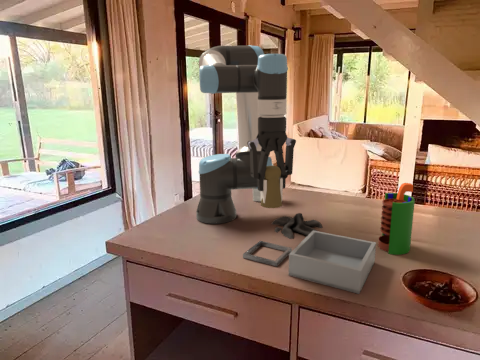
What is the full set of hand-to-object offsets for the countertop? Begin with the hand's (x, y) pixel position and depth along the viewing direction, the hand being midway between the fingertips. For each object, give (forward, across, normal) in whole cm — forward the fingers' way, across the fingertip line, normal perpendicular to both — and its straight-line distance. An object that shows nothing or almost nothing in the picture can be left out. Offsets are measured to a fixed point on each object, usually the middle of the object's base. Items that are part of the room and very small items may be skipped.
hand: (271, 200), depth 101 cm
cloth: (+17, +16, +15) cm, 28 cm away
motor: (+17, +37, -7) cm, 41 cm away
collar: (+17, -1, +1) cm, 17 cm away
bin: (+17, +13, -13) cm, 25 cm away
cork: (+1, 0, 0) cm, 1 cm away
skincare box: (+17, +18, +50) cm, 56 cm away
